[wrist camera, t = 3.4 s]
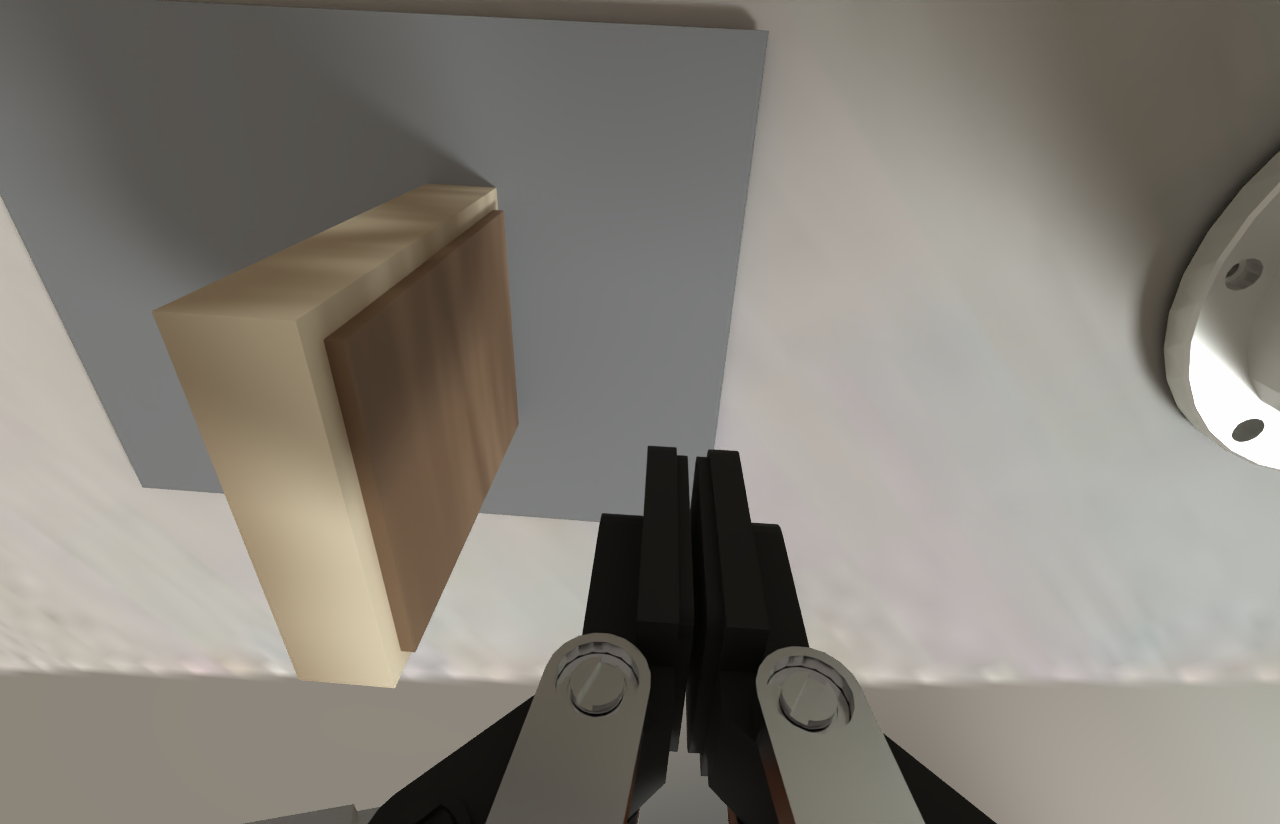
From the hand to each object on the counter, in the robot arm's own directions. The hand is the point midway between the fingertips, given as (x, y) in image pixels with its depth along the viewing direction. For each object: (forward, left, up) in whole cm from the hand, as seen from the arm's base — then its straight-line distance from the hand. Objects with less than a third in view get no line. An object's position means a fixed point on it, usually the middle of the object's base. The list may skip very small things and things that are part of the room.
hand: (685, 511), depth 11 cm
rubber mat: (+10, 0, -9) cm, 13 cm away
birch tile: (+7, 0, -9) cm, 11 cm away
